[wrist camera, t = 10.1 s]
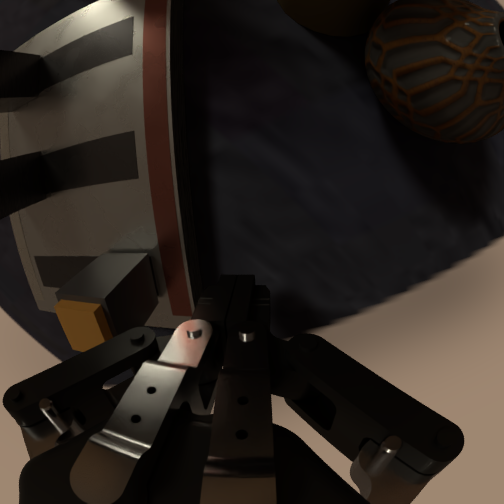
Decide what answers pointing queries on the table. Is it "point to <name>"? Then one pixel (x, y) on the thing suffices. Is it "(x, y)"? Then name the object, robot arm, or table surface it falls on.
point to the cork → (335, 15)
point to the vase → (439, 68)
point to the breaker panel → (101, 150)
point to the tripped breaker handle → (106, 299)
